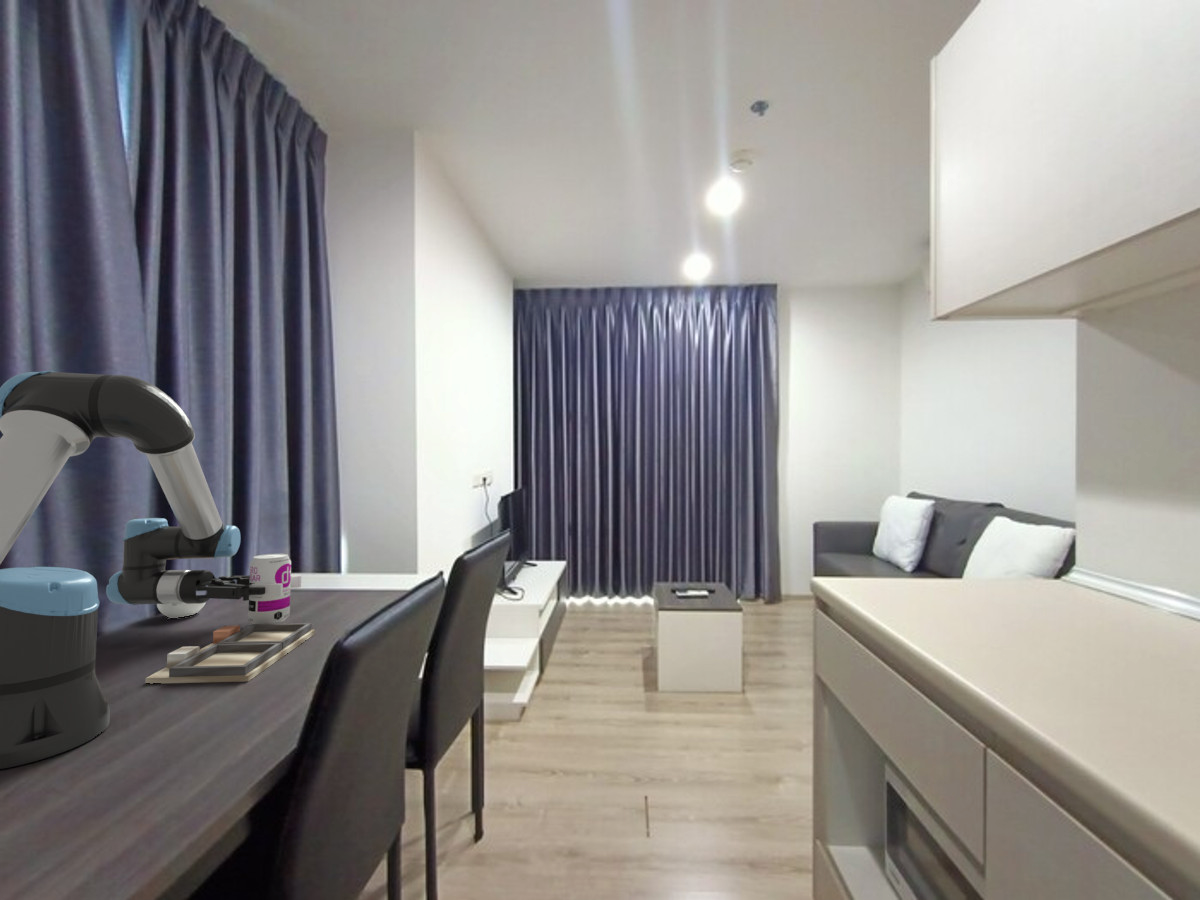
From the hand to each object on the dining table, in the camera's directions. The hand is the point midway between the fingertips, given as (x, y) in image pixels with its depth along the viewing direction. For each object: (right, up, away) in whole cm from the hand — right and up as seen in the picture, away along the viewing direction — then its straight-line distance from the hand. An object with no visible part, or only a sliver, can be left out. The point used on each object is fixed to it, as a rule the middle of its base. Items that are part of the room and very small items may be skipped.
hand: (291, 585), depth 123 cm
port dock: (+1, -9, -18) cm, 21 cm away
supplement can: (-5, -8, -1) cm, 10 cm away
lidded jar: (-33, -10, +9) cm, 35 cm away
